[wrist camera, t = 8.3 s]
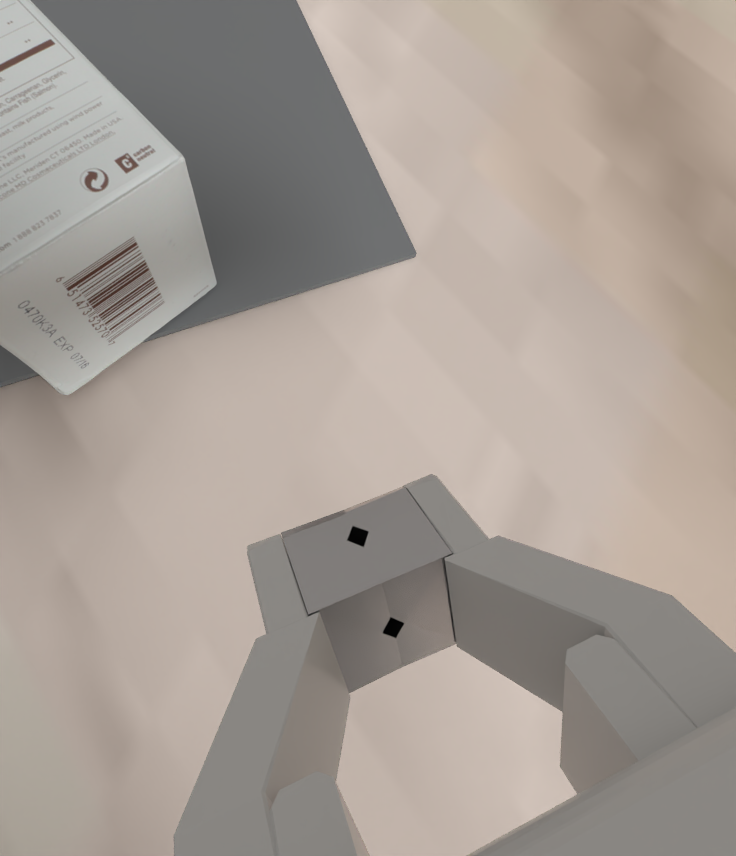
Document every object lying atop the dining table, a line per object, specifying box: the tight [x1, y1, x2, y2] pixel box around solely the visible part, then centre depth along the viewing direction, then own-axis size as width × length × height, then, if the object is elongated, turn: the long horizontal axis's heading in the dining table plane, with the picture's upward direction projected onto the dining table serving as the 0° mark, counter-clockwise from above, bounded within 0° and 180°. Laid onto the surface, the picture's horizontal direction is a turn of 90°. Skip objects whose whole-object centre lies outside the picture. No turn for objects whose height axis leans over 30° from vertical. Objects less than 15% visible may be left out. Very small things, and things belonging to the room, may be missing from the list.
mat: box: [0, 0, 416, 387], centre depth 23 cm, size 22×20×1 cm
